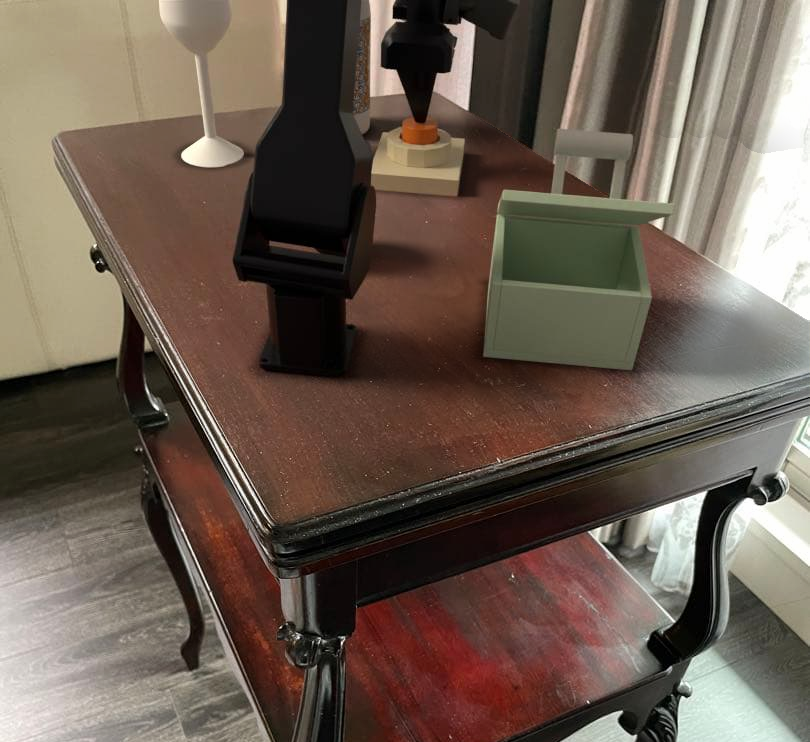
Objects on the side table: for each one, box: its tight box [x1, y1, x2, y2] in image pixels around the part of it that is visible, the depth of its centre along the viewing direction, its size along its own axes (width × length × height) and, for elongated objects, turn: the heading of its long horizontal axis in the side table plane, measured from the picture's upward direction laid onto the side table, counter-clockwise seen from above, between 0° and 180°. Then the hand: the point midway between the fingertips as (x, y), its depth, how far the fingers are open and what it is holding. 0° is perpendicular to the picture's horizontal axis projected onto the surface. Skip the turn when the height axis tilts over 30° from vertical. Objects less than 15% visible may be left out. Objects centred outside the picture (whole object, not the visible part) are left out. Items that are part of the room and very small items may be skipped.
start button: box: [401, 116, 439, 145], centre depth 86 cm, size 4×4×2 cm
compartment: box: [482, 213, 653, 371], centre depth 66 cm, size 11×11×6 cm
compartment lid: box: [496, 128, 676, 226], centre depth 61 cm, size 12×11×5 cm
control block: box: [371, 126, 466, 197], centre depth 87 cm, size 11×9×4 cm
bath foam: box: [353, 0, 372, 135], centre depth 89 cm, size 7×7×20 cm
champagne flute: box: [158, 0, 245, 168], centre depth 81 cm, size 7×7×24 cm
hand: (420, 121), depth 85 cm, fingers closed
